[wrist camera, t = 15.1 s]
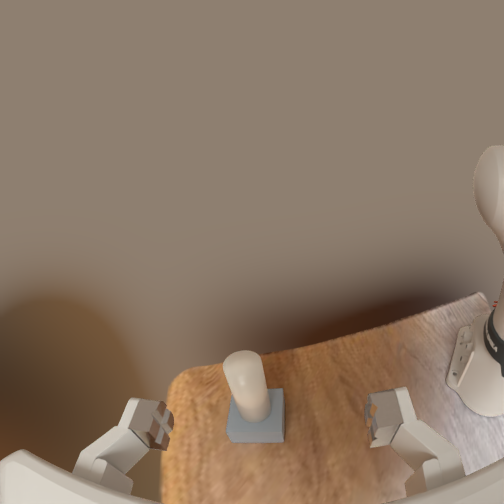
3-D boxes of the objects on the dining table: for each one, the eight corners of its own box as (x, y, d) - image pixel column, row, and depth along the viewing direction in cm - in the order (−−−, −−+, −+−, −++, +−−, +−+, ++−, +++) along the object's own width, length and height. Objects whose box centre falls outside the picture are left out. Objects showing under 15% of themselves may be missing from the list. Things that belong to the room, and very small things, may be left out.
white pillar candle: (249, 393, 42) (236, 346, 37) (276, 403, 39) (268, 356, 34) (233, 416, 38) (215, 371, 33) (261, 427, 36) (249, 384, 31)
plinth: (237, 402, 44) (232, 389, 43) (284, 401, 43) (282, 388, 42) (231, 442, 37) (225, 431, 36) (284, 442, 36) (281, 431, 34)
